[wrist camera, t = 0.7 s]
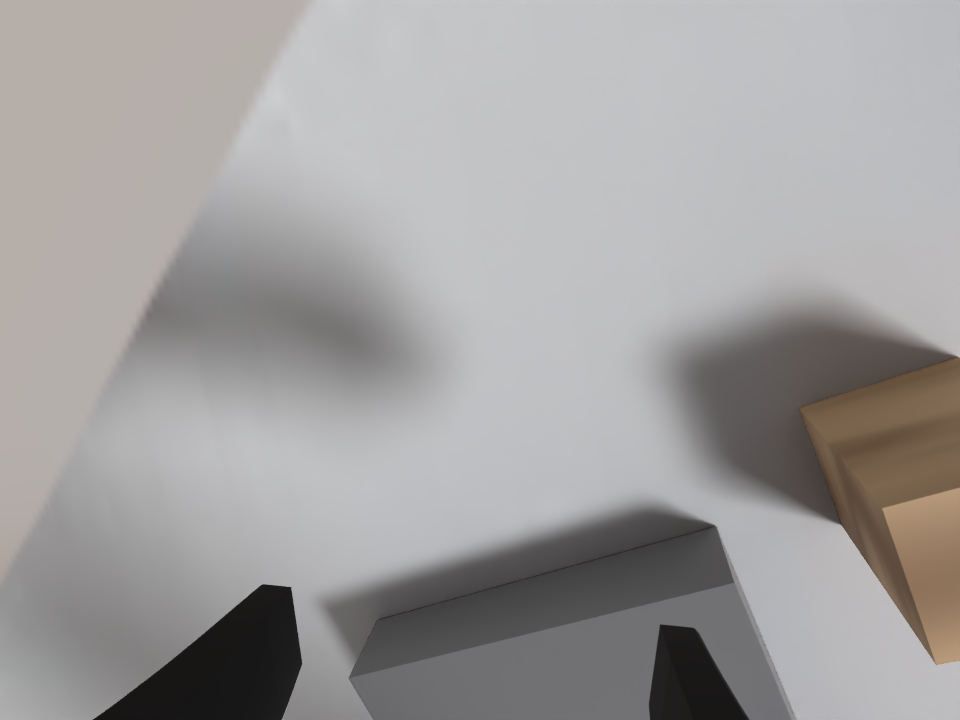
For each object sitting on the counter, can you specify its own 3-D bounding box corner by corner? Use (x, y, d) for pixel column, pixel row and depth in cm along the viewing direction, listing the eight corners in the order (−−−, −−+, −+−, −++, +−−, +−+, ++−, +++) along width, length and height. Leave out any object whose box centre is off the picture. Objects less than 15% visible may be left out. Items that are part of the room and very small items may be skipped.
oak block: (995, 484, 19) (1165, 621, 13) (841, 525, 20) (936, 664, 14) (957, 356, 18) (1122, 444, 12) (798, 407, 19) (881, 508, 13)
